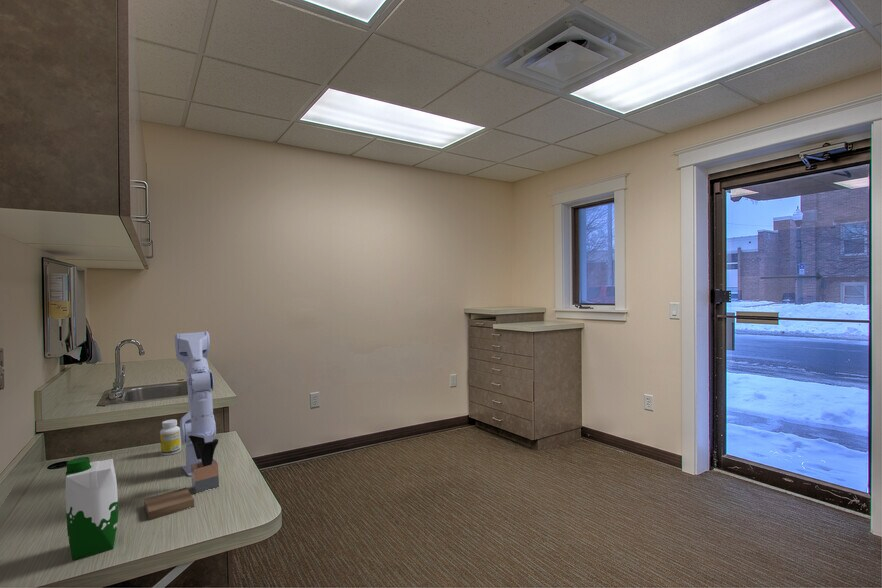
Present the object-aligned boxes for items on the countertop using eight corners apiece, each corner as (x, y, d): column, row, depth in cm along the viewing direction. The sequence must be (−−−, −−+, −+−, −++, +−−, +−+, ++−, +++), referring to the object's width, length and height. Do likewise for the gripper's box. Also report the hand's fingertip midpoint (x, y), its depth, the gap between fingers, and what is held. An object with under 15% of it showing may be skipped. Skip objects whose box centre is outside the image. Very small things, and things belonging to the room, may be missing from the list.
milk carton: (71, 545, 103) (66, 457, 103) (120, 532, 108) (116, 448, 108) (66, 564, 95) (61, 469, 95) (119, 549, 101) (114, 458, 100)
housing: (192, 488, 131) (190, 464, 131) (214, 482, 135) (213, 458, 135) (195, 494, 127) (194, 469, 127) (219, 487, 131) (217, 463, 131)
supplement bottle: (165, 450, 166) (163, 419, 166) (184, 448, 167) (182, 417, 167) (158, 456, 160) (156, 424, 160) (177, 454, 161) (175, 422, 161)
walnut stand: (144, 506, 121) (143, 498, 121) (186, 494, 127) (186, 487, 127) (149, 520, 113) (149, 512, 113) (194, 506, 120) (193, 499, 120)
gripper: (181, 412, 134) (183, 459, 134) (191, 422, 123) (194, 472, 123) (207, 408, 139) (209, 452, 139) (219, 417, 127) (222, 465, 127)
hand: (204, 461), depth 131 cm, fingers open, 7 cm apart
